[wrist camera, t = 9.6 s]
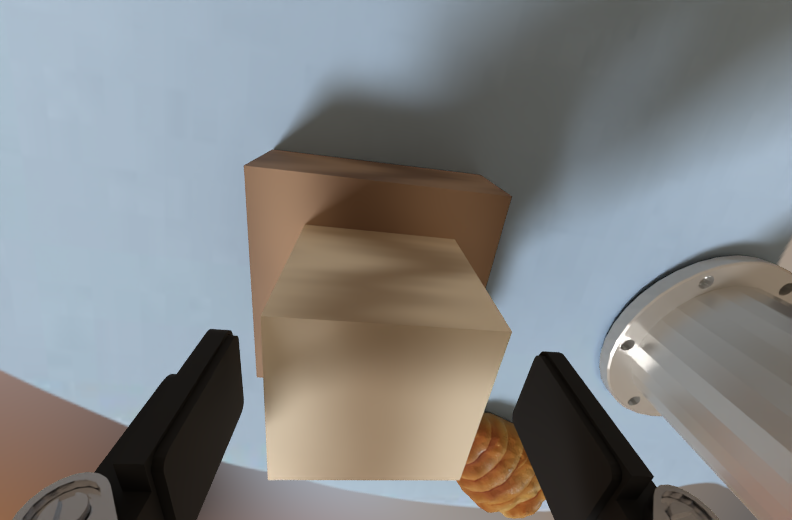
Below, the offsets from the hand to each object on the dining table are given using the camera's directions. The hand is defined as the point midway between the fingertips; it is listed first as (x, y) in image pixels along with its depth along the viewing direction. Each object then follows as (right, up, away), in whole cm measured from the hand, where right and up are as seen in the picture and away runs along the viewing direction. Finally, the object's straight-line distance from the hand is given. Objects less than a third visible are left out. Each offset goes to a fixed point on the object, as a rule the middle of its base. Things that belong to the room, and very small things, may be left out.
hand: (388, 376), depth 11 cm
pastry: (+8, -11, +16) cm, 21 cm away
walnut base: (-1, +4, +8) cm, 9 cm away
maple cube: (-1, +2, +4) cm, 5 cm away
